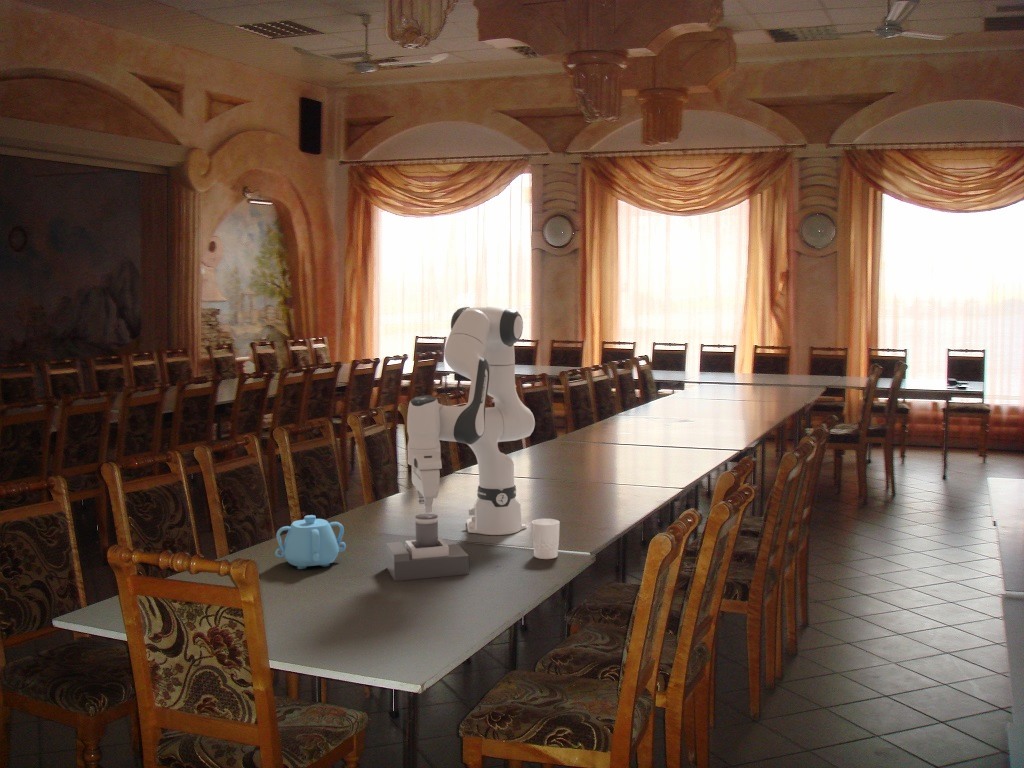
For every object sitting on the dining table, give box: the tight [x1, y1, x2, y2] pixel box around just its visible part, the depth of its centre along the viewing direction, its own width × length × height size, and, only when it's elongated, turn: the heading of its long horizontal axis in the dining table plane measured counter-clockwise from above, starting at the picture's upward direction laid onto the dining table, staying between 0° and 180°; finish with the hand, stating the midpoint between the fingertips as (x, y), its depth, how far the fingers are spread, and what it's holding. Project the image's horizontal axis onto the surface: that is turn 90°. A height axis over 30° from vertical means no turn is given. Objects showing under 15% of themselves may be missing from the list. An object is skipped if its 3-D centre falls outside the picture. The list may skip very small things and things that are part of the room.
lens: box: [414, 513, 439, 548], centre depth 274 cm, size 6×6×10 cm
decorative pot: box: [274, 514, 347, 570], centre depth 283 cm, size 16×16×14 cm
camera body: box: [385, 537, 470, 582], centre depth 275 cm, size 13×20×8 cm, turn 106°
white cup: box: [531, 518, 561, 560], centre depth 288 cm, size 8×8×10 cm
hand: (424, 507), depth 274 cm, fingers open, 8 cm apart
